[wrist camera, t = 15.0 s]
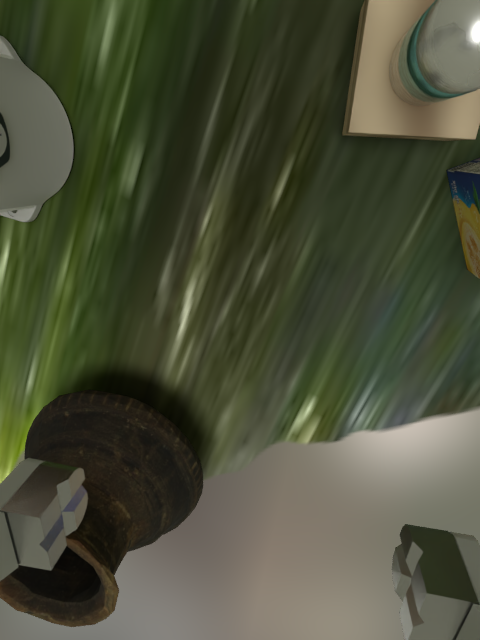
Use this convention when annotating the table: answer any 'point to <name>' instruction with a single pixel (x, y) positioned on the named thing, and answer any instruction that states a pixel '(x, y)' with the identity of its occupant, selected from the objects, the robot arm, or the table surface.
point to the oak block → (377, 93)
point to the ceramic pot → (105, 499)
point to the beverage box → (467, 210)
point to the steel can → (439, 54)
